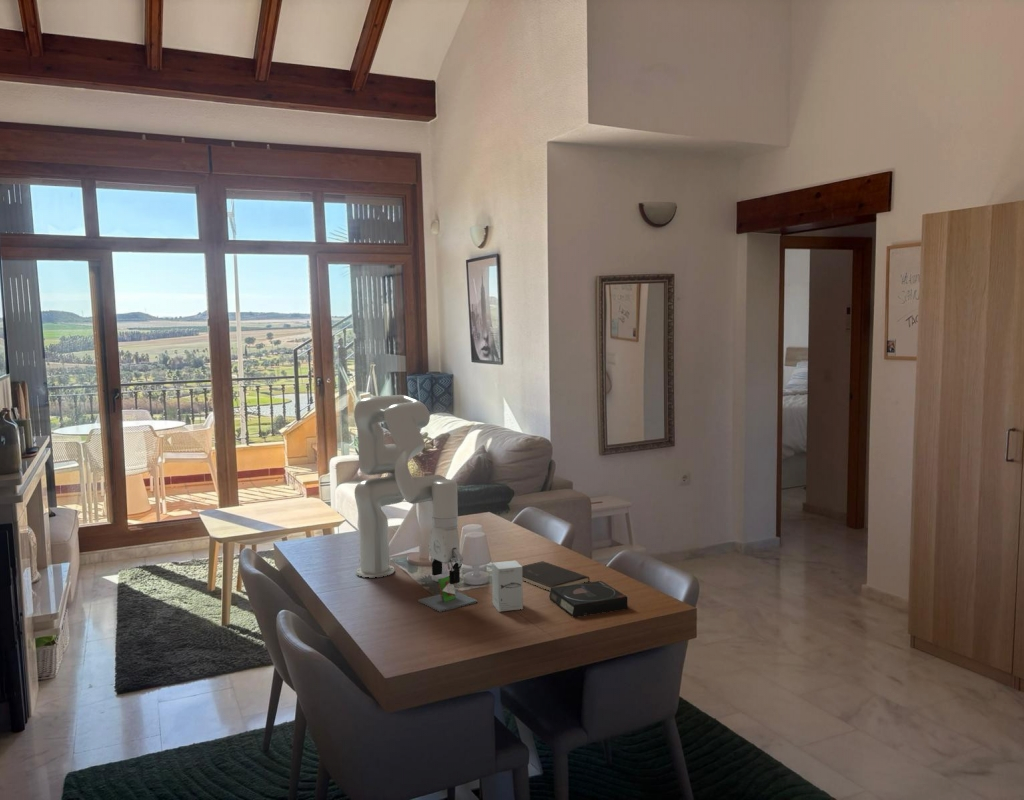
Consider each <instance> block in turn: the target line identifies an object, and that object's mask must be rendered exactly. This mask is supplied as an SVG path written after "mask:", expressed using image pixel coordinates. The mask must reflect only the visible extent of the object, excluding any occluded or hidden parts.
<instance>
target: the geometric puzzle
mask: <svg viewBox="0 0 1024 800" xmlns="http://www.w3.org/2000/svg"><path fill="white" fill-rule="evenodd" d="M437 582H438V583H437V584H438V585H437V586H438V589H439V591H438V592H439V593H440V594H441V598H442V599H444V600H443V602H446V601H449V600H453V599H455V596H454V595H455V591H458V590H459V588H460V584H458V583H455V584H457V585H454V584H450V581H449V576H445V577H442V578H439V579H437ZM456 587H457V590H456ZM436 593H437V591H434V594H435V595H438V594H436ZM435 595H434V596H435Z"/></svg>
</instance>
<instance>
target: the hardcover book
mask: <svg viewBox="0 0 1024 800" xmlns="http://www.w3.org/2000/svg"><path fill="white" fill-rule="evenodd" d="M521 566H522V580H523V582H524V581H526V582H525V583H527V582H529V583H528V584H530V583H531V585H532V584H534V585H533V586H535V585H536V586H535V587H537V586H538V588H540V587H541V589H543V588H544V590H545V589H546V591H548V590H549V592H550V590H551V588H554V587H561V586H568V585H575V584H580V583H581V584H582V583H584V582H585V583H589V582H590V577H589V576H588V575H585V574H581V573H578V572H576V571H572V570H570V569H567V568H565V567H562V566H560V565H559V566H558V565H556V564H552V563H550V562H546V561H544V560H543V561H538V562H532V563H528V564H525V565H521ZM588 581H589V582H588Z"/></svg>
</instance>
